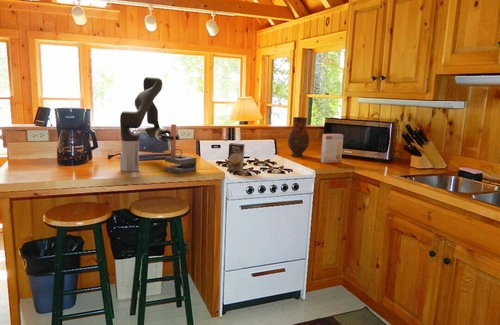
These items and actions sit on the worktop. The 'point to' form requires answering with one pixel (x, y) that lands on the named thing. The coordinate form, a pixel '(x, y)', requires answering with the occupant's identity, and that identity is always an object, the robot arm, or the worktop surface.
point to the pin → (173, 142)
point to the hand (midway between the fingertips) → (175, 138)
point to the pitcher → (298, 137)
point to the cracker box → (331, 148)
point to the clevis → (181, 164)
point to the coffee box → (235, 157)
